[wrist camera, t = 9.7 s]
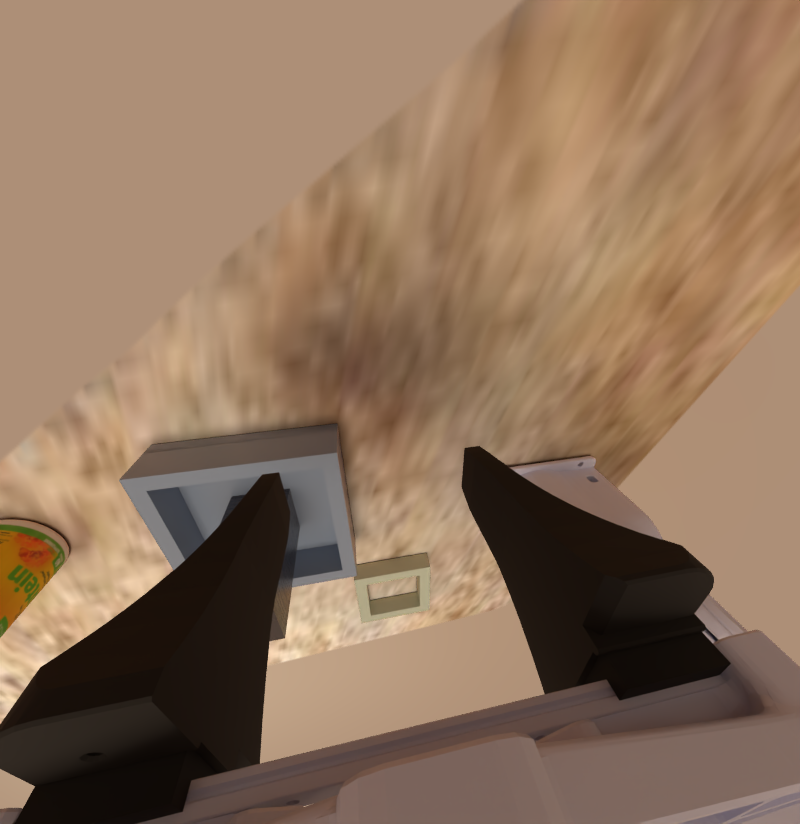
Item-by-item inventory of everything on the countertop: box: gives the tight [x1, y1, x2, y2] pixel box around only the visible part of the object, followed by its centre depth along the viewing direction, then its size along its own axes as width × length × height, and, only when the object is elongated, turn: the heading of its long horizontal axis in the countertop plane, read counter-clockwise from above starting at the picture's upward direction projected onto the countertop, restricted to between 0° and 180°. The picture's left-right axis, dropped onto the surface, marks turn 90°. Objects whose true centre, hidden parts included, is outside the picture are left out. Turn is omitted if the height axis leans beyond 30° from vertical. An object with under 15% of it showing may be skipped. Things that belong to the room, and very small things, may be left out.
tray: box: [119, 424, 357, 587], centre depth 23 cm, size 12×12×4 cm
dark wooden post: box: [220, 488, 300, 641], centre depth 20 cm, size 4×4×8 cm
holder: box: [354, 553, 430, 623], centre depth 31 cm, size 7×7×2 cm
